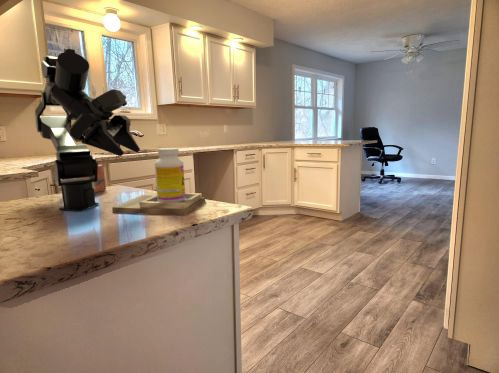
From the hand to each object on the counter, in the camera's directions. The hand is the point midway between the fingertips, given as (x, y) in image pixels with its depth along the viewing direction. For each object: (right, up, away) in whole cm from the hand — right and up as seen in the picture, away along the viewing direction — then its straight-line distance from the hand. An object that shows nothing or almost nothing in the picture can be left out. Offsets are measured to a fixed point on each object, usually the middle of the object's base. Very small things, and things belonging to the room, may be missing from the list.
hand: (131, 152), depth 73 cm
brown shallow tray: (+5, -13, +5) cm, 15 cm away
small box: (-24, -7, +17) cm, 31 cm away
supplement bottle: (+8, -12, +4) cm, 15 cm away
